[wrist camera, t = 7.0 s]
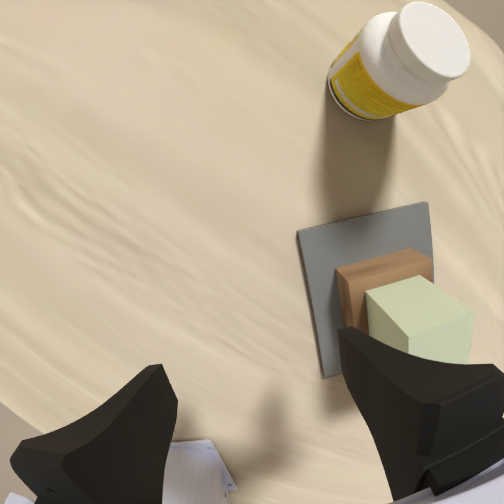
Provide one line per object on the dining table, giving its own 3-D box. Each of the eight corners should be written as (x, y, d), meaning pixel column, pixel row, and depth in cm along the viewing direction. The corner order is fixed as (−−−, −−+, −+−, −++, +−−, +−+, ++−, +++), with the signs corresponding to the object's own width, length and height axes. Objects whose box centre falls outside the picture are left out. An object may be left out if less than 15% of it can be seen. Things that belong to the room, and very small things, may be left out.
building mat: (430, 339, 24) (433, 342, 23) (323, 373, 24) (325, 378, 23) (423, 201, 21) (427, 202, 20) (297, 230, 21) (298, 232, 21)
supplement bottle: (393, 131, 20) (481, 112, 10) (321, 111, 19) (379, 66, 10) (399, 65, 18) (477, 19, 9) (330, 43, 18) (383, -28, 8)
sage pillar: (420, 327, 19) (466, 372, 13) (369, 344, 19) (406, 399, 14) (419, 274, 18) (473, 311, 12) (365, 290, 18) (408, 336, 13)
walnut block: (414, 319, 22) (432, 336, 19) (345, 341, 23) (357, 362, 20) (410, 247, 21) (431, 258, 18) (335, 267, 21) (348, 282, 18)
